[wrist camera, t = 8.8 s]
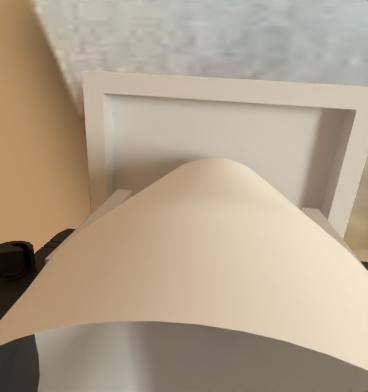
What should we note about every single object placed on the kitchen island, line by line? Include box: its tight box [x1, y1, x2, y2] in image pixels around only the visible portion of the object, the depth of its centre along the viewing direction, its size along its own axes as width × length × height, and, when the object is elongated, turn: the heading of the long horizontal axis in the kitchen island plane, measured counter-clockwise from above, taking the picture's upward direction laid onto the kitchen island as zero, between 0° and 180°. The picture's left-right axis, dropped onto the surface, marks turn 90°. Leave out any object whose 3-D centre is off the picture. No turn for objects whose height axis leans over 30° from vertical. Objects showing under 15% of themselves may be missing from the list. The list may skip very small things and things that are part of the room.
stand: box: [82, 70, 368, 239], centre depth 20 cm, size 14×14×10 cm
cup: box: [0, 158, 368, 392], centre depth 10 cm, size 9×9×12 cm
